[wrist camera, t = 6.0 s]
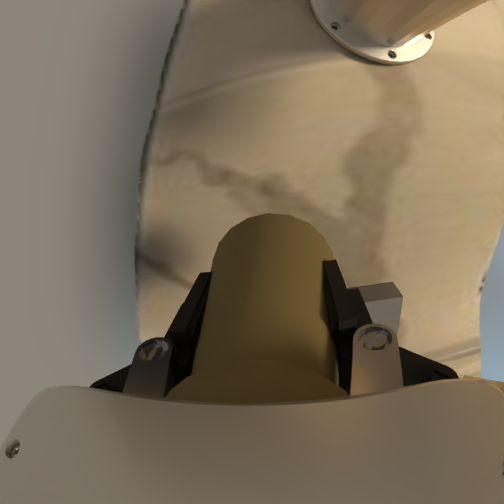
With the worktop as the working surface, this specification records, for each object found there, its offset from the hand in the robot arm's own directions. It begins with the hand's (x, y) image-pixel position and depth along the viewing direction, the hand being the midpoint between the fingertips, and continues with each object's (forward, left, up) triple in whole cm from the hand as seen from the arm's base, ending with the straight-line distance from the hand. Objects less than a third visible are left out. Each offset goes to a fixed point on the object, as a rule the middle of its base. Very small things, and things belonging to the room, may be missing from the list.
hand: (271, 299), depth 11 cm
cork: (0, 0, -3) cm, 3 cm away
